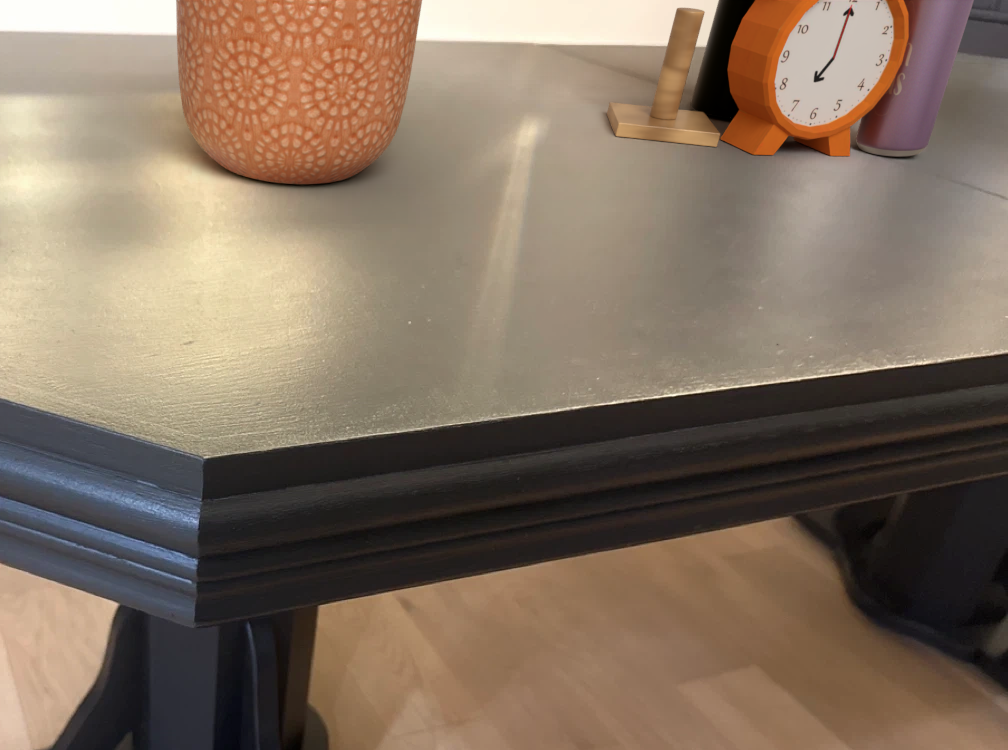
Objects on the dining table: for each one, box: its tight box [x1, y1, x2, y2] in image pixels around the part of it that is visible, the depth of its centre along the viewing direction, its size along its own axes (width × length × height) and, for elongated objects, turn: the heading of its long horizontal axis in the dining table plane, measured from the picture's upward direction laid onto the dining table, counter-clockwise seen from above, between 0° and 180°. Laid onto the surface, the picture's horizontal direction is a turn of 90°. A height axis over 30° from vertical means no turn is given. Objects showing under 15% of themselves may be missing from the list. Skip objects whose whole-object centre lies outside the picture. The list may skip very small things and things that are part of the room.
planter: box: [175, 0, 423, 185], centre depth 73 cm, size 17×17×15 cm
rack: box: [606, 7, 721, 148], centre depth 93 cm, size 9×9×10 cm
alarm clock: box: [719, 0, 909, 157], centre depth 88 cm, size 13×6×20 cm, turn 103°
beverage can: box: [855, 0, 975, 157], centre depth 91 cm, size 6×6×15 cm
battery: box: [690, 0, 755, 120], centre depth 99 cm, size 7×7×20 cm
